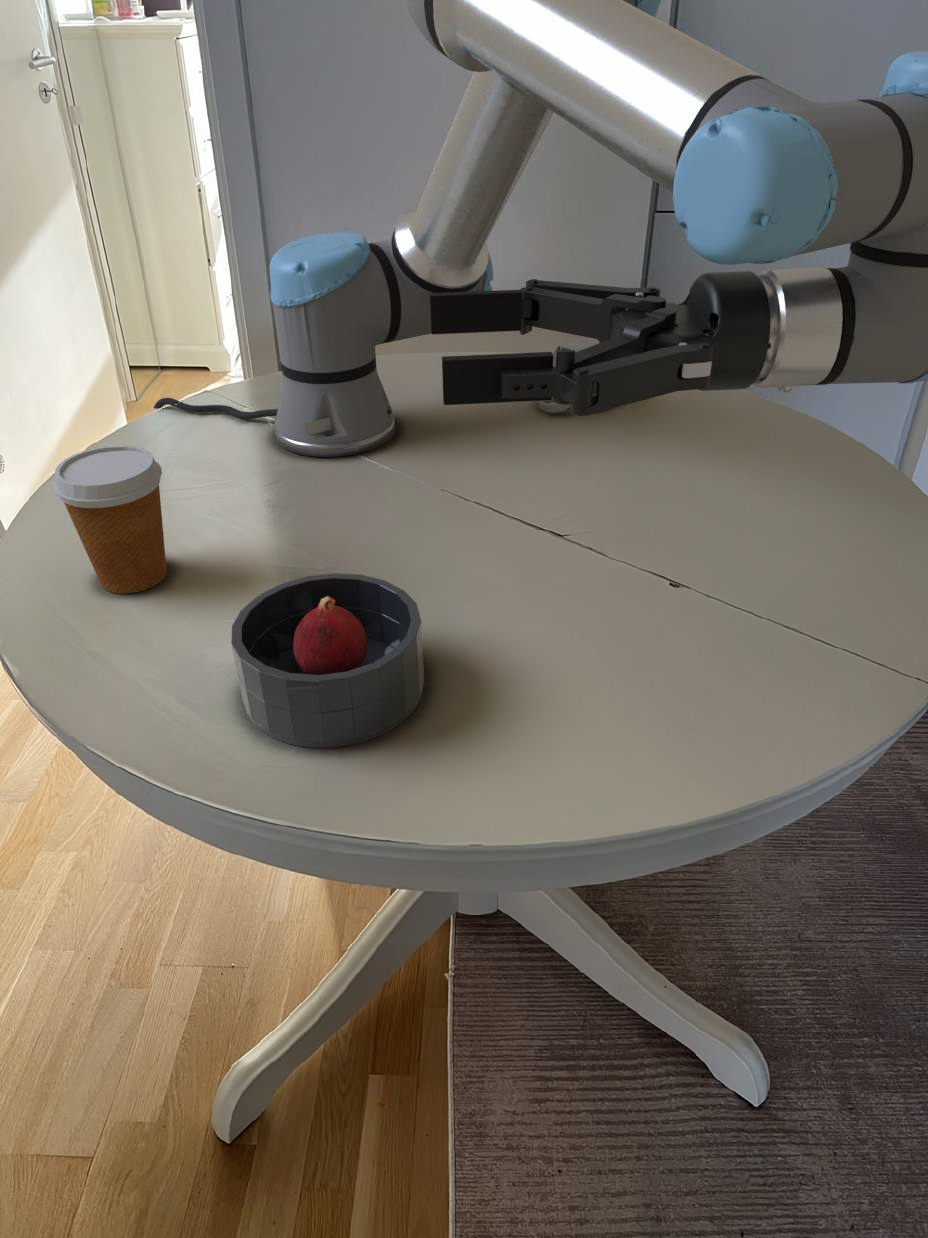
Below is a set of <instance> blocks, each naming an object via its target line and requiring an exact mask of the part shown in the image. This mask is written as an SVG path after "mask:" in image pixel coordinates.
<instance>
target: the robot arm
mask: <svg viewBox="0 0 928 1238" xmlns="http://www.w3.org/2000/svg"><path fill="white" fill-rule="evenodd" d="M661 2H662V0H405V3H406V6H407V8H408V12H409V14H410V17H411V19H412V21H413V23H414V24H415V26H416V28H417V30H418V31H419V32H420V33H421V35H422V36H423V37H424V38H425V40H426V41H427V42H428V43H429V44H430V45H431V46H432V47H433V48H434V49H435V50H436V51H437V52H439V53H440V54H442V55H443V56H445V57H446V58H447V59H449V60H450V61H451V62H453V63H455V64H456V65H458V66H459V67H461V68H462V69H464V70H467V71H470V72H472V74H471V76H470V79H469V82H468V84H467V86H466V89H465V91H464V94H463V95H462V97H461V98H462V99H461V100H460V103H459V106H458V108H457V111H456V113H455V116H454V117H453V120H452V123H451V126H450V128H449V130H448V132H447V134H446V138H445V140H444V143H443V145H442V147H441V150H440V152H439V155H438V157H437V159H436V162H435V164H434V167H433V170H432V172H431V174H430V177H429V179H428V182H427V184H426V186H425V188H424V190H423V194H422V196H421V199H420V201H419V203H418V204H417V205H414V206H412V207H410V208H408V209H406V211H404V212H403V213H402V214H401V215H400V217H399V218H398V220H397V223H396V225H395V227H394V230H393V233H392V235H391V237H390V238H389V239H387V240H381V241H374V242H370V243H368V240H367V238H366V237H365V236H364V235H362V234H361V233H359V232H354V231H335V232H331V233H329V232H323V233H318V234H313V235H309V236H305V237H302V238H299V239H296V240H293V241H292V242H289V243H287V244H285V245H284V246H281V248H279V249H278V251H276V252H275V253H274V254H273V256H272V258H271V259H270V262H269V279H270V291H269V298H270V301H271V303H272V308H273V314H274V322H275V330H276V336H277V337H276V338H277V345H278V351H279V352H278V353H279V360H280V366H281V375H282V381H281V386H280V392H279V398H278V405H277V408H269V409H261V410H256V411H255V410H253V411H242V410H240V409H237V408H235V407H232V406H229V405H224V404H207V405H206V404H204V405H194V404H189V403H185V402H182V401H180V400H177V399H175V398H172V397H162V398H160V399H159V400H157V401H156V402H155V404H154V405H153V409H156V410H158V409H162V408H163V407H164V406H165V405H169V406H171V407H175V408H177V409H179V410H181V411H184V412H189V413H224V414H225V413H226V414H229V415H232V416H233V417H235V418H239V419H242V420H253V419H258V418H268V417H275V418H274V434H275V439H276V442H277V443H278V444H279V445H280V446H281V447H282V448H284V449H286V450H287V451H289V452H292V453H295V454H298V455H304V456H309V457H319V458H321V457H322V458H323V457H324V458H333V457H344V456H345V457H346V456H353V455H357V454H362V453H365V452H369V451H372V450H374V449H376V448H379V447H381V446H382V445H384V444H385V443H387V442H388V441H390V440H391V439H392V438H393V436H394V435H395V432H396V422H395V415H394V411H393V408H392V406H391V405H390V402H389V397H388V395H387V394H386V391H385V388H384V386H383V384H382V381H381V378H380V376H379V374H378V369H377V368H378V367H377V357H376V355H377V354H376V346H379V345H383V344H389V343H392V342H398V341H402V340H407V339H412V338H417V337H421V336H427V335H452V334H453V335H454V334H475V333H476V334H477V333H498V332H499V333H500V332H501V333H502V332H519V334H520V335H521V336H525V335H527V334H529V333H530V332H533V328H538V329H544V330H549V331H552V332H559V333H563V334H568V335H574V336H579V337H583V338H590V339H593V340H594V339H595V340H596V341H598V342H599V343H596V344H593V345H590V346H588V348H586V349H583V350H580V351H578V352H575V351H574V350H573V351H571V350H570V349H567V348H563V347H562V349H561V350H560V347H561V345H559V346H557V347H556V349H557V350H556V349H555V350H556V367H553V352H552V351H539V352H517V353H516V352H515V353H493V354H492V353H491V354H490V353H489V354H469V355H467V354H466V355H448V356H447V355H445V356H441V374H442V375H441V376H442V377H441V378H442V403H443V406H456V405H457V406H458V405H474V404H475V405H478V404H495V403H496V404H498V403H499V404H500V403H518V402H520V403H522V402H538V401H544V402H546V401H552V399H554V402H556V403H558V404H562V405H569V404H571V407H570V413H571V415H574V416H576V417H585V416H590V415H594V414H597V413H602V412H604V411H608V410H612V409H615V408H620V407H624V406H627V405H631V404H634V403H638V402H642V401H645V400H650V399H653V398H656V397H660V396H664V395H669V394H672V393H676V392H683V391H694V390H697V391H701V392H708V391H709V392H710V391H732V390H745V389H748V388H750V387H751V386H752V385H754V386H756V387H757V388H762V389H763V388H777V390H778V391H779V393H789V392H790V391H792V387H798V386H825V385H840V384H841V385H842V384H843V385H845V384H847V385H848V384H882V383H883V384H885V383H886V384H888V383H890V384H891V383H898V384H914V383H917V382H927V381H928V51H925V50H923V51H913V52H907V53H905V54H901V55H900V56H898V57H897V58H895V59H894V60H893V62H892V63H890V66H889V68H888V71H887V74H886V77H885V81H884V84H883V88H882V89H881V91H879V93H878V97H870V98H862V99H853V100H841V101H832V102H831V101H830V102H829V101H828V102H816V101H813V100H809V99H806V98H804V97H802V96H800V95H798V94H796V93H794V92H792V91H790V90H789V89H787V88H785V87H783V86H781V85H779V84H777V83H775V82H773V81H771V80H769V79H767V78H766V77H764V76H763V75H762V74H760V73H758V72H756V71H754V70H752V69H751V68H749V67H748V66H745V65H743V64H742V63H740V62H738V61H736V60H735V59H732V58H731V57H730V56H729V57H728V56H726V55H725V54H723V53H722V52H719V51H718V50H716V49H713V48H712V47H710V46H709V45H707V44H705V43H702V42H701V41H699V40H698V39H696V38H693V37H692V36H689V35H688V34H686V33H685V32H682V31H680V29H677V28H675V27H673V26H671V25H669V24H668V23H666V22H664V21H662V20H660V19H658V18H656V17H657V14H658V12H659V9H660V5H661ZM554 114H555V115H558V116H559V117H560V118H561V119H563V120H564V121H566V122H567V123H569V124H571V126H573V127H575V128H576V129H578V130H579V131H581V132H582V133H583V134H585V135H586V136H588V137H590V138H591V139H592V140H594V141H595V142H597V143H598V144H600V146H603V147H604V148H606V149H607V150H609V151H610V152H611V153H613V154H614V155H616V156H617V157H619V158H620V159H622V160H623V161H625V162H626V163H627V164H629V165H630V166H632V167H633V168H635V169H636V170H638V171H639V172H640V173H642V174H644V175H645V176H647V177H648V178H649V179H651V180H653V181H654V182H655V183H657V184H658V185H660V186H661V187H663V188H664V189H666V190H667V191H669V192H670V193H672V201H673V210H674V215H675V219H676V223H677V225H678V226H680V227H681V228H682V229H683V232H684V235H685V236H686V242H687V244H688V245H689V248H691V249H692V250H693V251H694V252H695V253H696V254H697V255H698V256H699V257H701V258H703V259H704V260H706V261H709V262H710V263H711V262H712V263H714V264H718V265H724V266H732V265H733V266H734V265H742V264H756V265H765V264H766V265H767V264H772V263H776V262H780V261H783V260H786V259H791V258H792V257H796V256H799V255H804V254H808V253H813V252H818V251H821V250H826V249H830V248H835V247H839V246H844V245H849V244H850V245H849V251H850V253H849V258H848V263H847V266H846V265H845V266H841V267H835V268H834V267H803V268H802V267H801V268H798V267H797V268H773V269H770V268H769V269H764V270H762V271H761V272H759V273H758V274H756V273H755V272H753V271H750V270H748V271H747V270H746V271H745V270H743V271H719V272H705V273H702V274H700V275H699V276H698V277H696V279H695V280H694V281H693V282H692V283H691V286H690V287H689V291H688V292H689V293H688V295H687V296H686V298H685V299H684V300H683V301H682V302H681V303H675V302H667V298H665V297H662V296H661V289H660V288H658V287H655V286H649V287H621V286H620V287H619V286H609V285H599V284H598V285H597V284H588V283H587V284H585V283H575V282H565V281H564V282H563V281H554V280H553V281H552V280H541V279H536V278H531V279H528V280H526V281H525V286H524V287H520V289H502V290H501V289H500V290H493V287H492V285H491V282H492V281H493V280H494V267H493V262H492V258H491V254H490V252H489V249H488V245H487V240H488V239H489V237H490V235H491V233H492V231H493V229H494V227H495V225H496V224H497V222H498V219H499V218H500V216H501V214H502V212H503V210H504V208H505V206H506V204H507V202H508V201H509V199H510V197H511V196H512V194H513V192H514V189H515V188H516V185H517V183H518V181H519V180H520V178H521V176H522V174H523V172H524V170H525V169H526V166H527V164H528V163H529V161H530V159H531V157H532V155H533V153H534V151H535V150H536V147H537V146H538V144H539V142H540V140H541V138H542V136H543V134H544V132H545V131H546V128H547V126H548V124H549V123H550V121H551V119H552V117H553V116H554ZM595 393H597V395H596V396H594V397H592V395H593V394H595ZM179 402H180V403H179ZM175 404H177V405H175Z"/></svg>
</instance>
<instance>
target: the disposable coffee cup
mask: <svg viewBox="0 0 928 1238" xmlns="http://www.w3.org/2000/svg"><path fill="white" fill-rule="evenodd" d="M55 467H56V468H55V470H54V481H53V483H52V489H53V490H52V491H54V493H55V494H56V495H57V496H58V498H59V499H60V500H61V501H62V502H63V504H64V506H65V508H66V510H67V513H68V514H69V517H70V519H71V522H72V524H73V525H74V528H75V530H76V533H77V535H78V537H79V539H80V541H81V543H82V547H83V548H84V550H85V552H86V555H87V557H88V559H89V561H90V563H91V565H92V568H93V571H94V572H95V574H96V577H97V579H98V582H99V583H100V586H101V587H102V588H103V590H105V591H107V592H110V593H114V594H122V595H123V594H133V593H138V592H142V591H146V590H148V589H150V588H153V587H155V586H157V585H158V584H160V583H161V582H162V581H163V580H164V579H165V578H166V576H167V573H168V571H167V570H168V569H167V568H168V567H167V560H166V549H165V538H164V534H165V533H164V524H163V514H162V513H163V512H162V503H161V490H160V482H161V478H162V474H163V470H162V467H161V465H160V464H159V462H157V461H156V459H155V457H154V455H153V453H152V452H151V451H149V450H147V449H145V448H143V447H141V446H135V445H126V444H114V445H105V446H99V447H94V448H89V449H87V450H83V451H79V452H77V453H74V454H72V455H70V456H68V457H66V458H65V459H63V460H62V461H61V462H59V464H58V465H57V466H55Z"/></svg>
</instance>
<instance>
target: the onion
mask: <svg viewBox="0 0 928 1238" xmlns="http://www.w3.org/2000/svg"><path fill="white" fill-rule="evenodd" d="M334 604H335V600H334V599H333V598H331V597H329V596H327V597H325V598H322V599H321V601H320V603H319V605H318V607H317V608H315V609H313V610H312V611H310V612H309V613H307V614H306V615H305V616H304V618H303V619H302V620H301V622H300V623H299V625H298V626H297V628H296V630H295V635H294V644H293V653H294V656H295V659H296V661H297V663H298V664H299V666H300V668H301V669H302V670H303V671H304V672H305V674H311V675H323V674H331V673H339V672H347V671H350V670H353V669H356V668H359V667H360V666H361V664H362V662H363V660H364V658H365V656H366V653H367V640H366V634H365V629H364V627H363V625H362V624H361V622H360V621H359V620H358V619H357V618H356V617H355V616H354V615H353V614H352V613H350V612H349V611H348V610H346V609H344V608H341V607H338V606H335V605H334Z"/></svg>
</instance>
